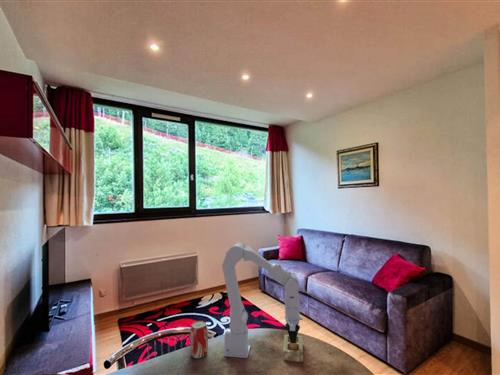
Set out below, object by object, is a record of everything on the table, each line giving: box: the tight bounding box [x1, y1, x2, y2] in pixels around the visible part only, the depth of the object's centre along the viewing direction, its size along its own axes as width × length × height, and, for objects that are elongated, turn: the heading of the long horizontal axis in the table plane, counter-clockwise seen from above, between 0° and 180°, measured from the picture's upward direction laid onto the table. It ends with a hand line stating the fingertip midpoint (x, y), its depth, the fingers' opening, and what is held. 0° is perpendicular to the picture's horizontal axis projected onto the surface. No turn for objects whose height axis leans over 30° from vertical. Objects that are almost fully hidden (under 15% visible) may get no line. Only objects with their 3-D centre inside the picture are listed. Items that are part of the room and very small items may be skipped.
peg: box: [289, 339, 297, 350], centre depth 100 cm, size 3×3×8 cm
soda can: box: [189, 320, 209, 359], centre depth 102 cm, size 7×7×12 cm
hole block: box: [283, 334, 304, 363], centre depth 102 cm, size 8×12×4 cm, turn 171°
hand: (293, 340), depth 100 cm, fingers closed on peg, 3 cm apart
